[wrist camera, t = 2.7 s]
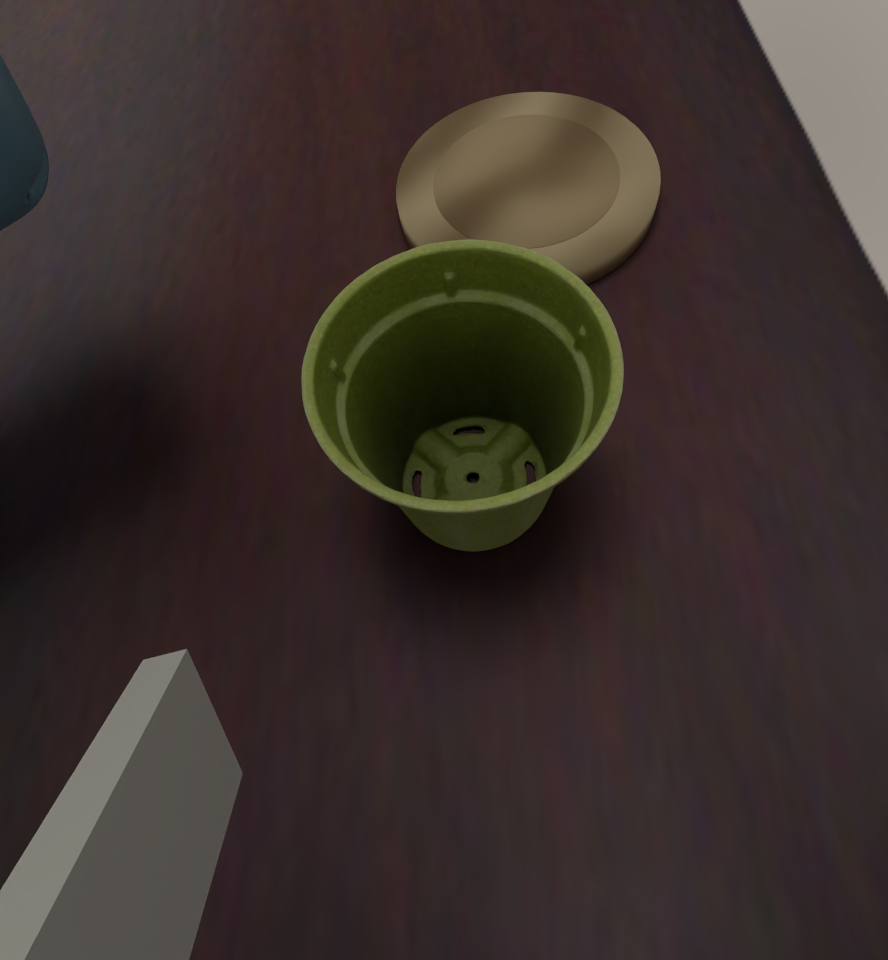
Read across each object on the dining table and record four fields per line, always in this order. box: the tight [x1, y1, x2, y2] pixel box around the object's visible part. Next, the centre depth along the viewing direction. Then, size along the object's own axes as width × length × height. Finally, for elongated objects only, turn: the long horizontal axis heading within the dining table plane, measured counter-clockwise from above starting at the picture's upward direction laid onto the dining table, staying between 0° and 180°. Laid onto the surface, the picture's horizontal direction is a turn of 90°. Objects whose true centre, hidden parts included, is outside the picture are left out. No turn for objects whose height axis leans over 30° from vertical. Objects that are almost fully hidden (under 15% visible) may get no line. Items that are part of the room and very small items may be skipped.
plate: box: [396, 92, 661, 285], centre depth 32 cm, size 13×13×1 cm
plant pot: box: [301, 239, 624, 551], centre depth 22 cm, size 9×9×9 cm
